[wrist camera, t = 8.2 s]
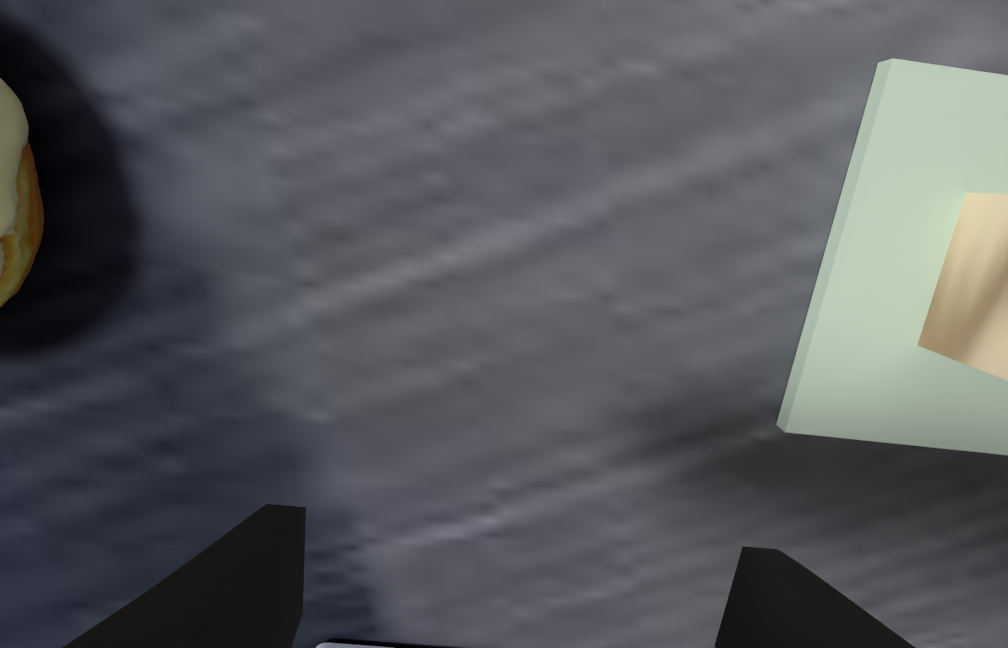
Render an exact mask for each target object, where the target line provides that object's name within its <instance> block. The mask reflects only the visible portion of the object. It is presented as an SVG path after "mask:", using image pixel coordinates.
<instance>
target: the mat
mask: <svg viewBox="0 0 1008 648" xmlns="http://www.w3.org/2000/svg"><path fill="white" fill-rule="evenodd" d="M966 193H994V194H1008V75H1001V74H994V73H988V72H981V71H974V70H967V69H961V68H954V67H947V66H941V65H934V64H927V63H920V62H914V61H907V60H900V59H889V60H886V61H883V62H879V63H878V65H877V69H876V72H875V76H874V80H873V83H872V87H871V90H870V94H869V97H868V101H867V104H866V108H865V111H864V115H863V119H862V122H861V126H860V129H859V133H858V136H857V140H856V143H855V147H854V150H853V154H852V157H851V161H850V165H849V168H848V172H847V175H846V179H845V182H844V186H843V189H842V193H841V196H840V200H839V204H838V207H837V211H836V214H835V218H834V221H833V225H832V228H831V232H830V235H829V239H828V242H827V246H826V250H825V253H824V257H823V260H822V264H821V267H820V271H819V274H818V278H817V281H816V285H815V289H814V292H813V296H812V299H811V303H810V306H809V310H808V313H807V317H806V320H805V324H804V327H803V331H802V335H801V338H800V342H799V345H798V349H797V352H796V356H795V359H794V363H793V366H792V370H791V374H790V377H789V381H788V384H787V388H786V391H785V395H784V398H783V402H782V405H781V409H780V412H779V416H778V420H777V423H776V425H777V426H778V427H779V428H781V429H782V430H783V431H784V432H787V433H797V434H806V435H816V436H826V437H836V438H845V439H855V440H865V441H874V442H884V443H894V444H903V445H913V446H923V447H932V448H942V449H952V450H962V451H971V452H981V453H991V454H1000V455H1008V381H1007V380H1005V379H1002V378H1000V377H997V376H994V375H992V374H989V373H987V372H984V371H982V370H979V369H976V368H974V367H971V366H969V365H966V364H964V363H961V362H959V361H956V360H953V359H951V358H948V357H946V356H943V355H941V354H938V353H935V352H933V351H930V350H928V349H925V348H923V347H920V346H917V344H918V341H919V338H920V335H921V332H922V329H923V326H924V323H925V319H926V316H927V313H928V310H929V307H930V304H931V301H932V298H933V294H934V291H935V288H936V285H937V282H938V279H939V276H940V273H941V269H942V266H943V263H944V260H945V257H946V254H947V251H948V248H949V244H950V241H951V238H952V235H953V232H954V229H955V226H956V223H957V219H958V216H959V213H960V210H961V207H962V204H963V201H964V198H965V194H966Z"/></svg>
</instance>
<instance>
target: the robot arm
mask: <svg viewBox="0 0 1008 648" xmlns="http://www.w3.org/2000/svg"><path fill="white" fill-rule="evenodd" d="M305 516H306V507H295V506H283V505H272V504H266V505H265V506H263V507H262V508H261V509H259V510H258V511H256V512H255V513H254V514H252V515H251V516H250V517H248V518H247V519H246V520H244V521H243V522H241V523H240V524H239V525H237V526H236V527H235V528H233V529H232V530H231V531H229V532H228V533H227V534H225V535H224V536H223V537H221V538H220V539H218V540H217V541H216V542H214V543H213V544H212V545H210V546H209V547H208V548H206V549H205V550H204V551H202V552H201V553H200V554H198V555H197V556H195V557H194V558H193V559H191V560H190V561H189V562H187V563H186V564H185V565H183V566H182V567H180V568H179V569H178V570H176V571H175V572H173V573H172V574H171V575H169V576H168V577H166V578H165V579H164V580H162V581H161V582H159V583H158V584H157V585H155V586H154V587H152V588H151V589H150V590H148V591H147V592H145V593H144V594H142V595H141V596H139V597H138V598H136V599H135V600H133V601H132V602H130V603H129V604H127V605H126V606H124V607H123V608H121V609H120V610H118V611H117V612H115V613H114V614H112V615H111V616H109V617H108V618H106V619H105V620H103V621H102V622H100V623H99V624H97V625H96V626H94V627H93V628H91V629H90V630H88V631H87V632H85V633H84V634H82V635H81V636H79V637H78V638H76V639H75V640H73V641H72V642H70V643H69V644H67V645H66V646H64V647H63V648H291V647H292V644H293V641H294V638H295V635H296V631H297V628H298V625H299V622H300V619H301V616H302V613H303V584H304V550H305ZM715 647H716V648H915V647H914V646H912V645H911V644H909V643H908V642H907V641H905V640H904V639H903V638H901V637H900V636H898V635H897V634H896V633H894V632H893V631H892V630H890V629H889V628H888V627H886V626H885V625H883V624H882V623H881V622H879V621H878V620H877V619H875V618H874V617H873V616H871V615H870V614H868V613H867V612H866V611H864V610H863V609H862V608H860V607H859V606H858V605H856V604H855V603H854V602H852V601H851V600H849V599H848V598H847V597H845V596H844V595H843V594H841V593H840V592H839V591H837V590H836V589H835V588H833V587H832V586H830V585H829V584H828V583H826V582H825V581H823V580H822V579H821V578H819V577H818V576H817V575H815V574H814V573H812V572H811V571H810V570H808V569H807V568H805V567H804V566H802V565H801V564H799V563H798V562H796V561H795V560H794V559H792V558H790V557H789V556H787V555H786V554H784V553H783V552H781V551H779V550H776V549H765V548H754V547H743V548H742V551H741V555H740V558H739V562H738V565H737V569H736V572H735V576H734V579H733V583H732V586H731V590H730V593H729V597H728V601H727V604H726V608H725V611H724V615H723V618H722V622H721V625H720V629H719V632H718V636H717V639H716V643H715ZM316 648H393V647H380V646H366V645H353V644H339V643H322V644H319V645H318V646H317V647H316Z"/></svg>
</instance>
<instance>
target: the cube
mask: <svg viewBox="0 0 1008 648" xmlns="http://www.w3.org/2000/svg"><path fill="white" fill-rule="evenodd" d="M917 346H920V347H923V348H925V349H928V350H930V351H933V352H935V353H938V354H941V355H943V356H946V357H948V358H951V359H953V360H956V361H959V362H961V363H964V364H966V365H969V366H971V367H974V368H976V369H979V370H982V371H984V372H987V373H989V374H992V375H994V376H997V377H1000V378H1002V379H1005V380H1007V381H1008V194H994V193H966V194H965V198H964V201H963V204H962V207H961V210H960V213H959V216H958V219H957V223H956V226H955V229H954V232H953V235H952V238H951V241H950V244H949V248H948V251H947V254H946V257H945V260H944V263H943V266H942V269H941V273H940V276H939V279H938V282H937V285H936V288H935V291H934V294H933V298H932V301H931V304H930V307H929V310H928V313H927V316H926V319H925V323H924V326H923V329H922V332H921V335H920V338H919V341H918V344H917Z"/></svg>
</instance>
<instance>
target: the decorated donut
mask: <svg viewBox="0 0 1008 648" xmlns="http://www.w3.org/2000/svg"><path fill="white" fill-rule="evenodd" d="M28 131H29V126H28V122H27V119H26V116H25V113H24V110H23V107H22V104H21V102H20V100H19V99H18V97H17V96H16V95H15V93H14V92H13V91H12V90H11V88H10V87H9V86H8V85H7V84H6V83H5V82H4V81H3V80H2V79H1V78H0V307H2V306H3V305H4V303H5V302H7V300H8V299H9V298H11V297H12V296H13V295H14V294H16V293H17V292H18V290H19V289H20V287H21V285H22V284H23V282H24V279H25V278H26V276H27V275H28V273H29V272H30V269H31V267H32V264H33V262H34V259H35V256H36V254H37V252H38V249H39V246H40V243H41V239H42V235H43V224H44V212H43V202H42V198H41V194H40V192H41V191H40V189H39V184H38V176H37V171H36V169H35V164H34V157H33V154H32V151H31V147H30V145H29V142H28Z"/></svg>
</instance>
